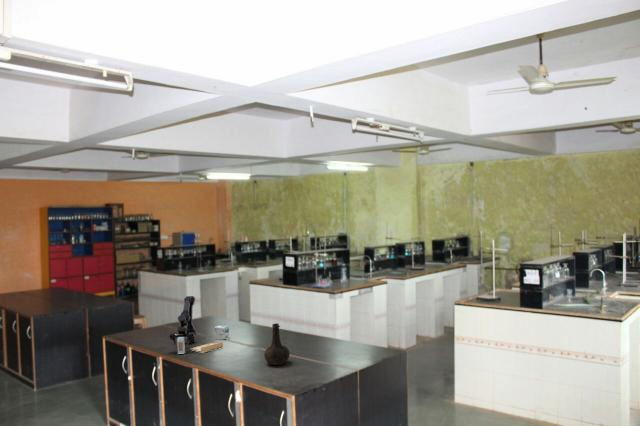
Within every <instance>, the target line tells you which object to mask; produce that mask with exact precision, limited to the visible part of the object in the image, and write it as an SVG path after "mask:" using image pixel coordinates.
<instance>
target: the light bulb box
mask: <svg viewBox="0 0 640 426" xmlns="http://www.w3.org/2000/svg"><path fill="white" fill-rule="evenodd" d="M214 338H219V339H226V340H228V339H227V338H229V339H230V326H229V325H217V326H215V327H214Z"/></svg>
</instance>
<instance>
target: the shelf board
mask: <svg viewBox="0 0 640 426" xmlns="http://www.w3.org/2000/svg"><path fill="white" fill-rule="evenodd" d="M212 344H214V343H212V342H210V343H206V344H203V345H198V346H195V347H194V346H193V347H190V348H189V351H190V350H192V351H196V352H199V353H204V352H207V351H211V350H215V349H219V348H222V347H223V348H224V345H223V346H220V347H217V348H213V349H209V350H206V351H202V352H201V347H205V346H208V345H212ZM223 348H222V349H223ZM219 350H220V349H219ZM192 351H191V352H192ZM215 351H216V350H215ZM196 352H195V353H196ZM211 352H212V351H211ZM199 353H198V354H199ZM204 354H205V353H204Z"/></svg>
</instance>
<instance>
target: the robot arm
mask: <svg viewBox="0 0 640 426" xmlns="http://www.w3.org/2000/svg"><path fill="white" fill-rule="evenodd" d="M183 299H184V300H183V303H184V304H183V305H184V306H183V310H182V311H181V313H180V315H179V316H177V321H178V323H179V326H177V334H176V332H171V333H169V339H170V340H171V341H173V343H174V344H173V345H174V346H176V345H177V338H178V337H184V338H186V342H187V344H186V346H188V345H190V344H189V343H192V342H195V337H196V336H197V332H196V330H195V329H196V328H195V325H193V312H194V310H193V309H194V305H195V302H196V297H195V296H194V295H190V296H189V295H188V296H187V295H186V296H185V297H184V298H183ZM192 344H193V343H192Z"/></svg>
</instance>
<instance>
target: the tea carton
mask: <svg viewBox="0 0 640 426" xmlns="http://www.w3.org/2000/svg"><path fill="white" fill-rule="evenodd" d="M176 344H177V355H178V354H184V353H185V354H186V346H185V345H186V342H185V337H176ZM185 354H184V355H185Z"/></svg>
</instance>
